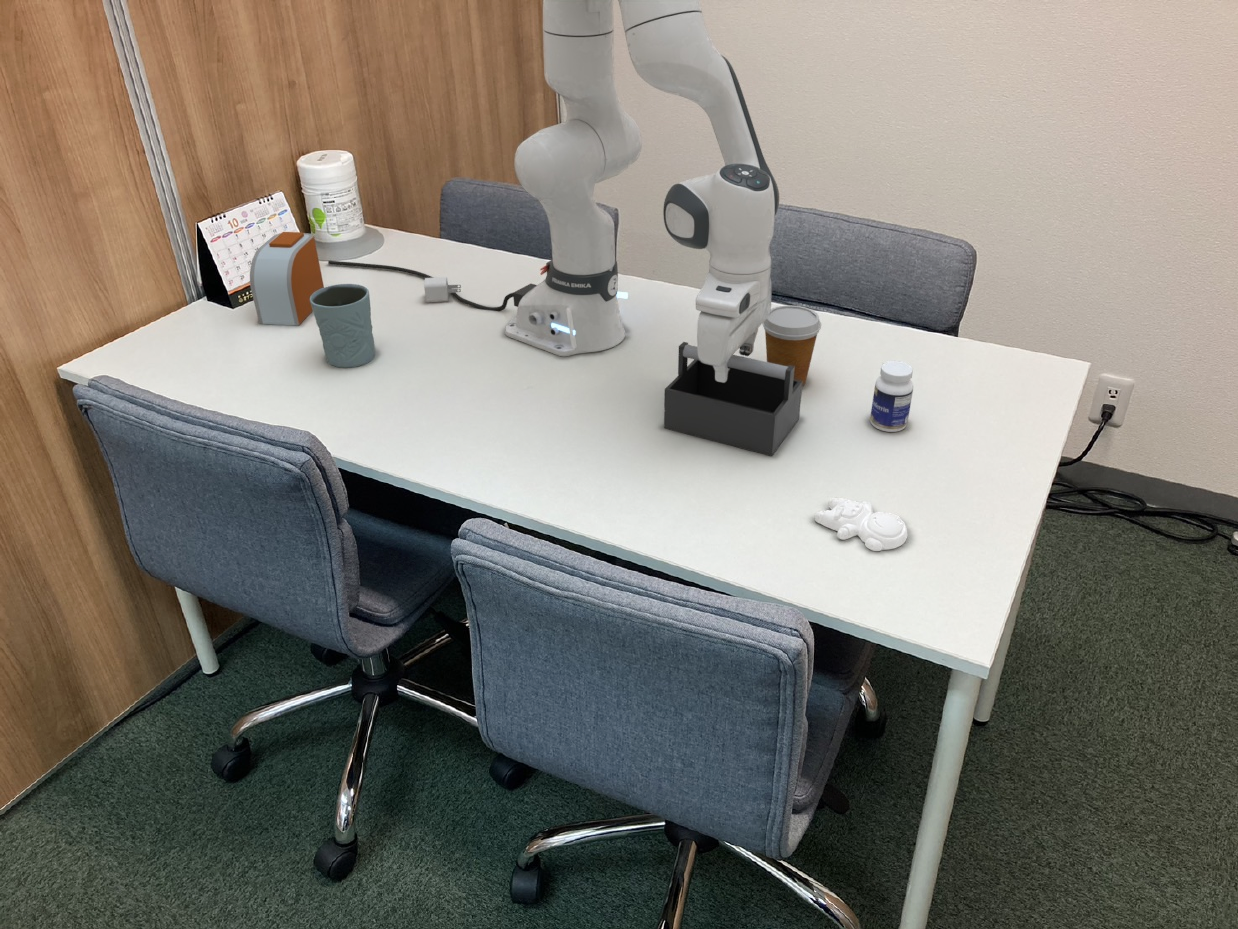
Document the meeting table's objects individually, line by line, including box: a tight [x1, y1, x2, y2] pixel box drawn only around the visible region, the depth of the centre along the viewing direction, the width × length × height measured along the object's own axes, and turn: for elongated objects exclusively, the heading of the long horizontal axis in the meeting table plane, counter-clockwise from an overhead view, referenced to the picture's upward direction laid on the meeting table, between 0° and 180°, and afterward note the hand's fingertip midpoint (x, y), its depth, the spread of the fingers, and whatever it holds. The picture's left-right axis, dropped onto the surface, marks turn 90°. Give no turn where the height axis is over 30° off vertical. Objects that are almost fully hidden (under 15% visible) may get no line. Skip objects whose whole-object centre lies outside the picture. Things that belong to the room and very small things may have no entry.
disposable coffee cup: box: [762, 304, 822, 388], centre depth 164 cm, size 10×10×12 cm
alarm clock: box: [249, 231, 325, 326], centre depth 191 cm, size 15×8×14 cm, turn 172°
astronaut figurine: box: [814, 497, 908, 552], centre depth 132 cm, size 9×12×3 cm
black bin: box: [663, 341, 803, 457], centre depth 153 cm, size 18×12×12 cm, turn 62°
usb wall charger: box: [423, 276, 462, 303], centre depth 197 cm, size 4×7×4 cm, turn 96°
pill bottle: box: [869, 360, 914, 433], centre depth 153 cm, size 6×6×10 cm
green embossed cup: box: [310, 283, 376, 369], centre depth 174 cm, size 10×10×12 cm
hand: (734, 366), depth 151 cm, fingers open, 8 cm apart
